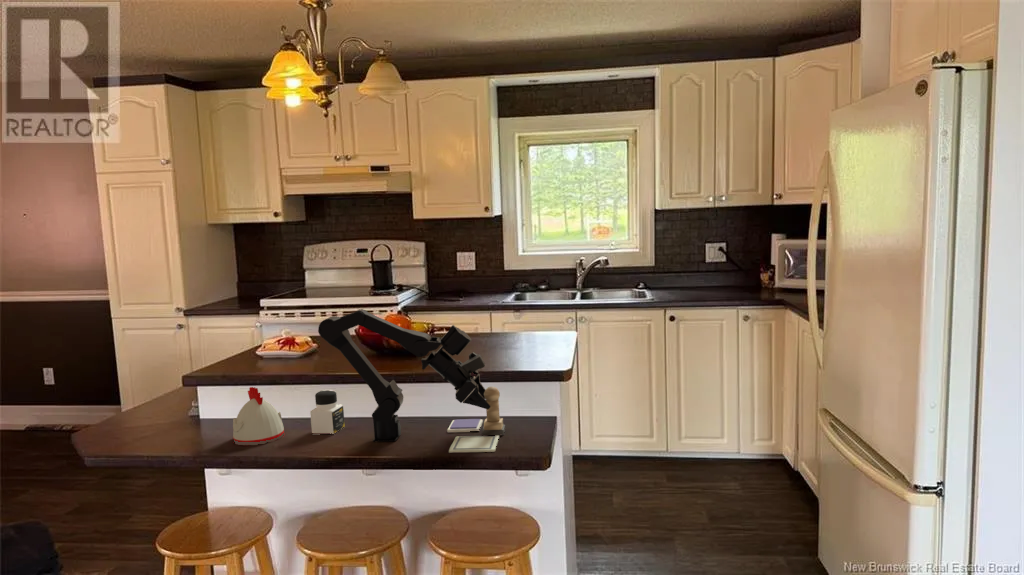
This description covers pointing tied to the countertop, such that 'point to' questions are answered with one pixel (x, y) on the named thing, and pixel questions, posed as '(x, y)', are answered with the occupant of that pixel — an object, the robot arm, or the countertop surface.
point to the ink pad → (465, 425)
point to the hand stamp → (493, 413)
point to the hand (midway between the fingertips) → (489, 403)
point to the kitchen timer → (257, 420)
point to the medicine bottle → (327, 413)
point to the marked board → (474, 444)
